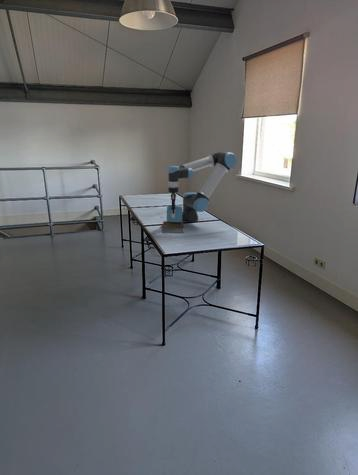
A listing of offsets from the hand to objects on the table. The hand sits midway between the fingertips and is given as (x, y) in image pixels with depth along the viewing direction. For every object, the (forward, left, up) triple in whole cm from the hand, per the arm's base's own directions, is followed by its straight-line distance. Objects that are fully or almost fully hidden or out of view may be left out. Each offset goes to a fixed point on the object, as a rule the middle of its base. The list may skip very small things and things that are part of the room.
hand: (173, 216), depth 258 cm
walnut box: (0, 0, -8) cm, 8 cm away
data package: (0, +1, -4) cm, 4 cm away
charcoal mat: (+12, 0, -8) cm, 15 cm away
